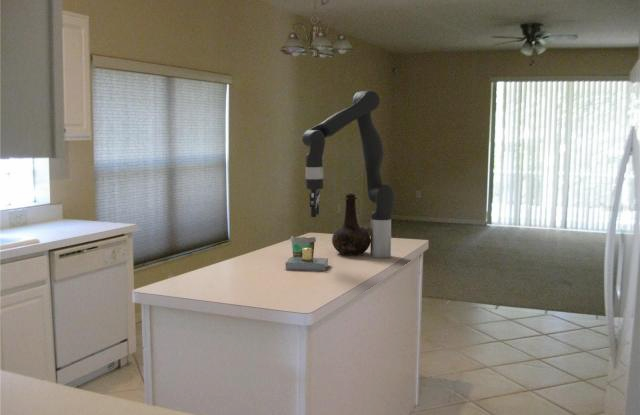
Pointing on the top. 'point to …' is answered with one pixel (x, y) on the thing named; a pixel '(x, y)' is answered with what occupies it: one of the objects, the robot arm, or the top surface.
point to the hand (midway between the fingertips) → (315, 215)
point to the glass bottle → (351, 232)
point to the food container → (302, 245)
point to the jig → (307, 264)
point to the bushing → (307, 254)
